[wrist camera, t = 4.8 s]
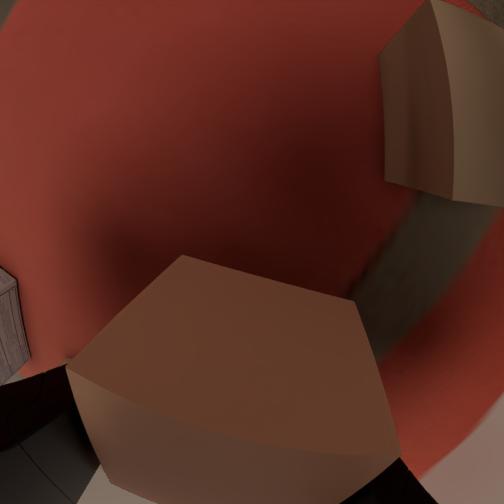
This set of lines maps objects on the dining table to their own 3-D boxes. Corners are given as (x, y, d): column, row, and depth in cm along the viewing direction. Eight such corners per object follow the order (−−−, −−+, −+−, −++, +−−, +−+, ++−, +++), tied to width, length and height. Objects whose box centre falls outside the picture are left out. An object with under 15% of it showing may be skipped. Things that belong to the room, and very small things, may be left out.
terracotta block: (354, 301, 7) (401, 454, 3) (298, 412, 9) (290, 531, 4) (182, 254, 8) (65, 366, 3) (168, 376, 9) (110, 483, 5)
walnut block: (477, 81, 7) (551, 61, 2) (482, 192, 9) (562, 218, 4) (377, 56, 8) (428, -4, 3) (383, 180, 9) (452, 200, 5)
